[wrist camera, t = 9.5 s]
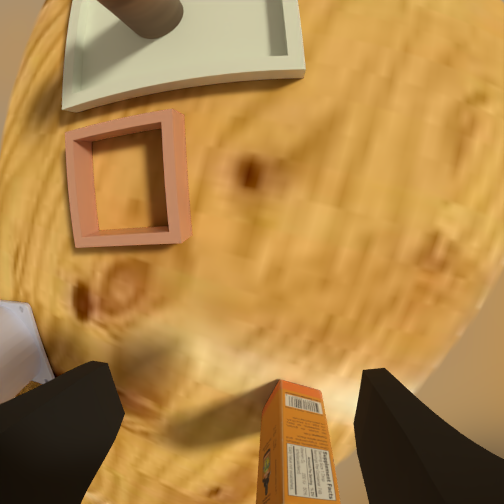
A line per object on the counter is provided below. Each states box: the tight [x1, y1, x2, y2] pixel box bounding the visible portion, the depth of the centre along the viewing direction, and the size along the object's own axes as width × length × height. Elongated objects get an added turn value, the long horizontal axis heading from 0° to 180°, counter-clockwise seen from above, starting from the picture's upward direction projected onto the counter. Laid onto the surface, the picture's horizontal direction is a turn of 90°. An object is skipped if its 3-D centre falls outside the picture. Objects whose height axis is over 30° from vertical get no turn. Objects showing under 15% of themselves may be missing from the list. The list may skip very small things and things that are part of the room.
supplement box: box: [256, 380, 340, 504], centre depth 15 cm, size 3×4×10 cm
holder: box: [65, 109, 192, 248], centre depth 16 cm, size 7×7×2 cm
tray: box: [62, 0, 306, 113], centre depth 14 cm, size 14×11×2 cm
